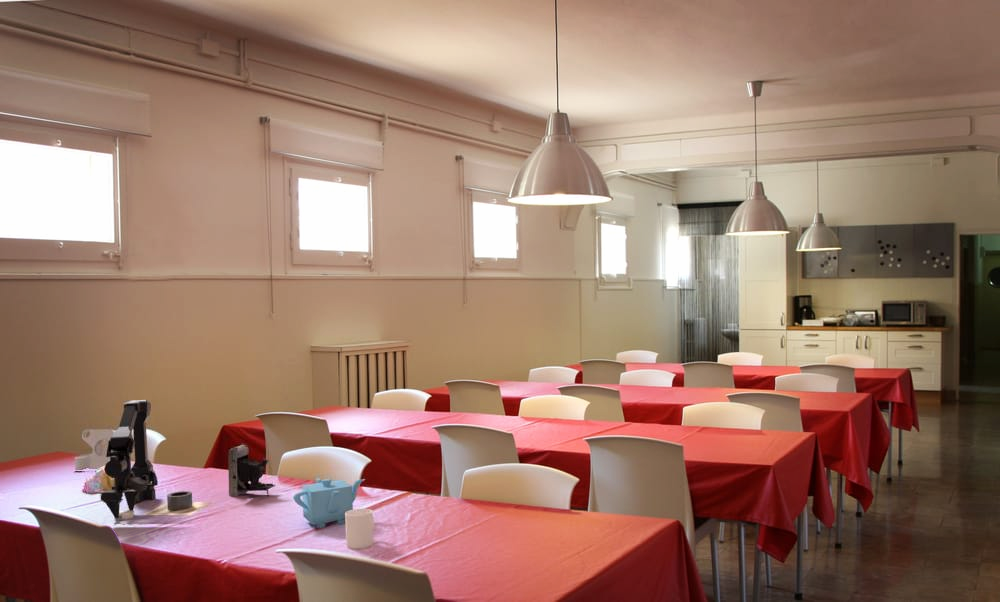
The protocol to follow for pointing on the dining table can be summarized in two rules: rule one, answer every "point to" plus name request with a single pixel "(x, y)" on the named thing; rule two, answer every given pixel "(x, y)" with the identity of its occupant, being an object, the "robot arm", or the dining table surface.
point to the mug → (359, 528)
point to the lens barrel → (179, 500)
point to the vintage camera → (245, 472)
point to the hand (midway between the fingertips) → (124, 514)
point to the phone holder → (94, 449)
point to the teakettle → (327, 500)
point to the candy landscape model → (99, 482)
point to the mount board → (164, 510)
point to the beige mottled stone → (125, 515)
